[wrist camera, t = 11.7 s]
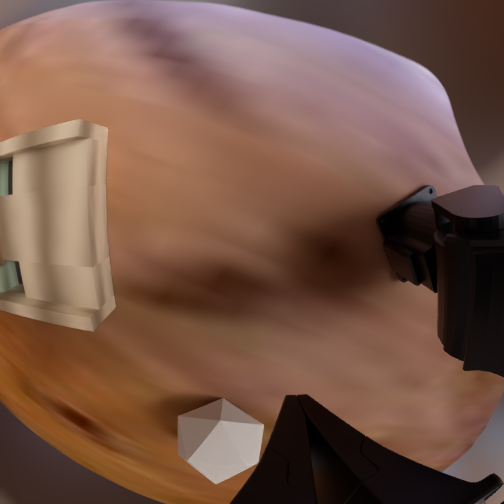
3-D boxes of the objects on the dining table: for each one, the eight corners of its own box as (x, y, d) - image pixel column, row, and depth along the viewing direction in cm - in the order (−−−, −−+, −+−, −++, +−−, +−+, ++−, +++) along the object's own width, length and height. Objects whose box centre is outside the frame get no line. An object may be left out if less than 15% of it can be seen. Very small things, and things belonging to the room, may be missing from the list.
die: (168, 391, 26) (158, 473, 20) (213, 387, 20) (203, 495, 14) (229, 404, 30) (223, 476, 24) (282, 400, 24) (278, 488, 18)
